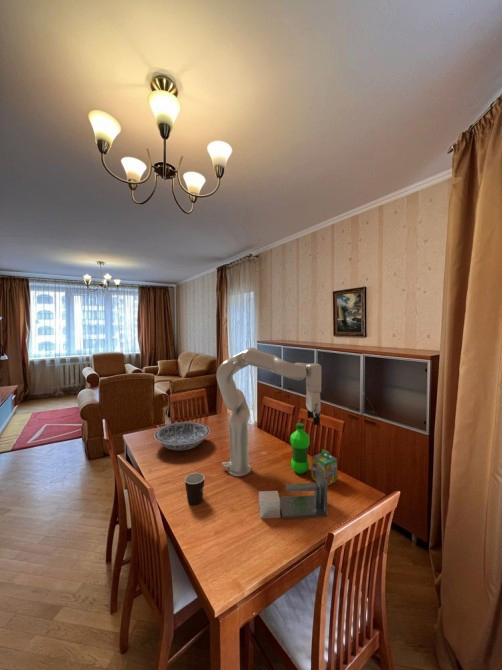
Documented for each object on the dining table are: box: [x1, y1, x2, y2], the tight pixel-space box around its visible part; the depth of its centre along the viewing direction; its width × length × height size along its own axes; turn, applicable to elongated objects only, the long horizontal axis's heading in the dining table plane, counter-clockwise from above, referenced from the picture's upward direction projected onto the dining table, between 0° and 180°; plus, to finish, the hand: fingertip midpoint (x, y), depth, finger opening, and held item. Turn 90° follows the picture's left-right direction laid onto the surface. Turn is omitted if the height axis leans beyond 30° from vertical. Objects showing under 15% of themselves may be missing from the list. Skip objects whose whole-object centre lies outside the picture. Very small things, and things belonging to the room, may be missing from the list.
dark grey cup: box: [184, 472, 205, 506], centre depth 120 cm, size 12×9×10 cm
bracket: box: [279, 467, 328, 520], centre depth 113 cm, size 18×12×14 cm, turn 93°
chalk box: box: [310, 448, 338, 487], centre depth 133 cm, size 9×9×15 cm
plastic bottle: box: [289, 422, 311, 475], centre depth 141 cm, size 10×10×25 cm
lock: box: [258, 490, 281, 519], centre depth 111 cm, size 8×6×7 cm
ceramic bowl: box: [153, 421, 211, 452], centre depth 172 cm, size 34×34×10 cm
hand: (313, 421), depth 137 cm, fingers open, 9 cm apart
